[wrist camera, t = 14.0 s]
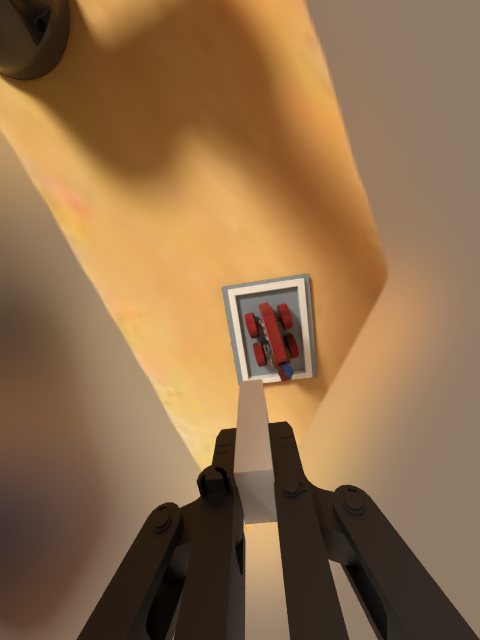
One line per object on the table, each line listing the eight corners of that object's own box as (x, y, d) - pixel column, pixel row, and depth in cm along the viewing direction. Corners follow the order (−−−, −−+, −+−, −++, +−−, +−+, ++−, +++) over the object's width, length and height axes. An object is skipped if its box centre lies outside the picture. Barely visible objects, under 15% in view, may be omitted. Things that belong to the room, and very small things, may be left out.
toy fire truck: (260, 369, 40) (264, 406, 30) (241, 303, 37) (238, 319, 27) (299, 360, 39) (316, 394, 29) (282, 292, 36) (295, 303, 26)
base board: (222, 286, 38) (220, 288, 35) (306, 273, 36) (310, 274, 34) (239, 382, 42) (238, 388, 40) (315, 373, 41) (318, 379, 39)
